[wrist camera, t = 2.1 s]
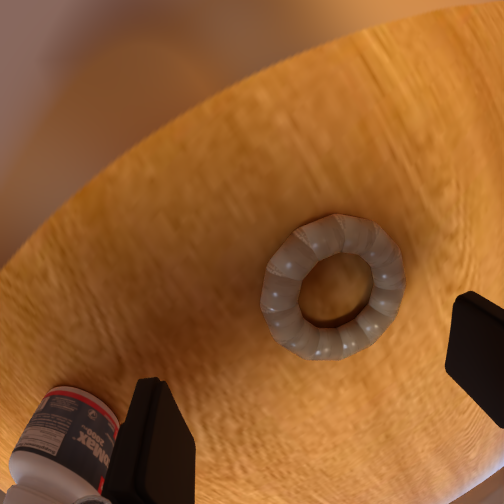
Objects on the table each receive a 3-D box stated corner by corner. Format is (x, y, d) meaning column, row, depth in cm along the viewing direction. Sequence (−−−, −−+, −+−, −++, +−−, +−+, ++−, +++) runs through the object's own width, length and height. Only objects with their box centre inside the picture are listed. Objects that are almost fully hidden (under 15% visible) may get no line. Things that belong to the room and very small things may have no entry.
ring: (228, 302, 14) (230, 318, 12) (328, 181, 13) (342, 183, 12) (330, 369, 16) (340, 386, 14) (415, 271, 15) (433, 281, 13)
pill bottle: (132, 444, 16) (113, 560, 7) (66, 439, 15) (31, 537, 7) (103, 383, 14) (55, 515, 6) (33, 381, 14) (-29, 484, 5)
